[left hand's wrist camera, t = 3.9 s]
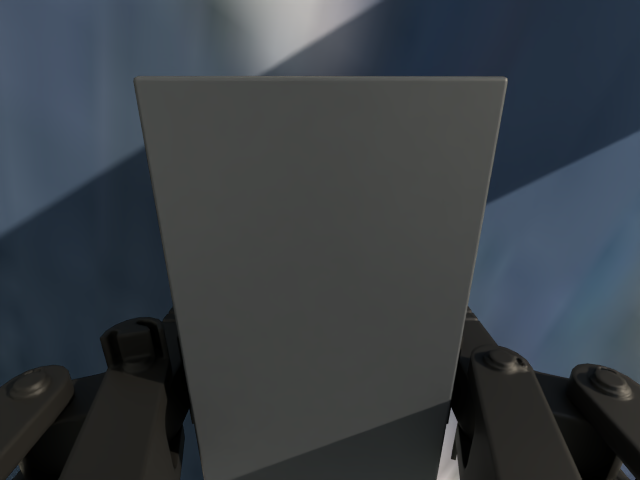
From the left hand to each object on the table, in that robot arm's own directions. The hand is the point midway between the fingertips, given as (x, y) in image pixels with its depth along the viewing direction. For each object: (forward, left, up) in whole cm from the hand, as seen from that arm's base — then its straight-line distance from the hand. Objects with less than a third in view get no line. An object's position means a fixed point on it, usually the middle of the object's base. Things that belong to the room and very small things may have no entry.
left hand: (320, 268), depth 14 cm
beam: (+23, +5, -1) cm, 23 cm away
